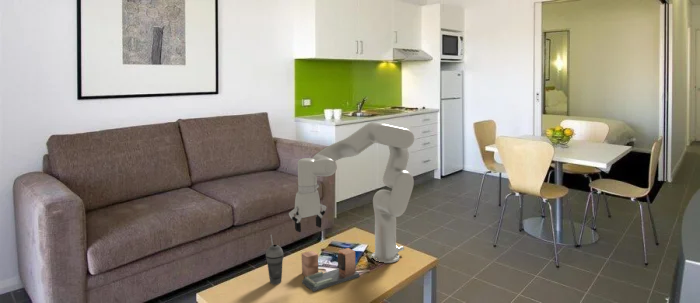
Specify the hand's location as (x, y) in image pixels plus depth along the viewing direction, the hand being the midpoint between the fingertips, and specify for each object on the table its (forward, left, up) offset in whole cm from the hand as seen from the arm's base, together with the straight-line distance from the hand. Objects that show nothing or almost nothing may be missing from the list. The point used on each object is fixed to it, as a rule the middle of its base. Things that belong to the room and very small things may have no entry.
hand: (308, 228), depth 189 cm
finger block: (0, 0, -20) cm, 20 cm away
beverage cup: (+15, -2, -20) cm, 25 cm away
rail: (-4, +10, -20) cm, 23 cm away
